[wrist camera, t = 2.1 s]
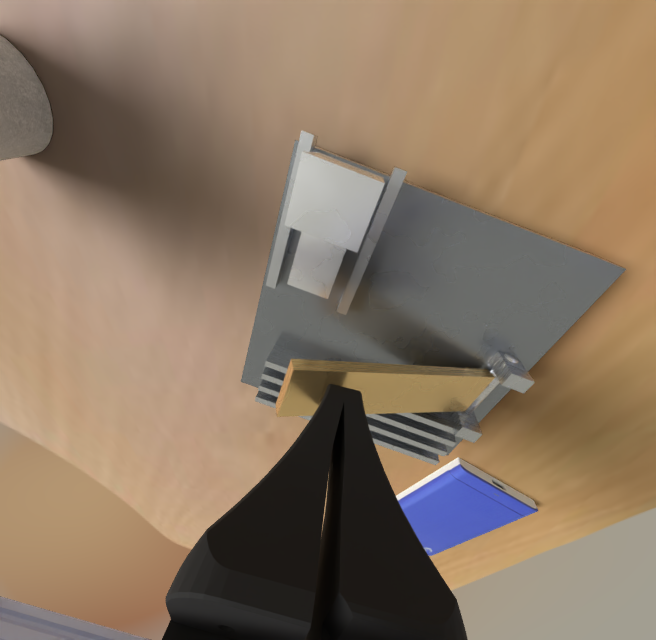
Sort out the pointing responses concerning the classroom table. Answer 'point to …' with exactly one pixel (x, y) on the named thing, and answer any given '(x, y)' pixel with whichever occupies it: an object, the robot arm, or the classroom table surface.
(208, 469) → the classroom table surface
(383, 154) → the classroom table surface
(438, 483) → the hard drive
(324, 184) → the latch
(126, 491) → the classroom table surface
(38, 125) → the house plant
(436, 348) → the grey slotted fixture base
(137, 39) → the classroom table surface
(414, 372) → the tan rectangular plate
